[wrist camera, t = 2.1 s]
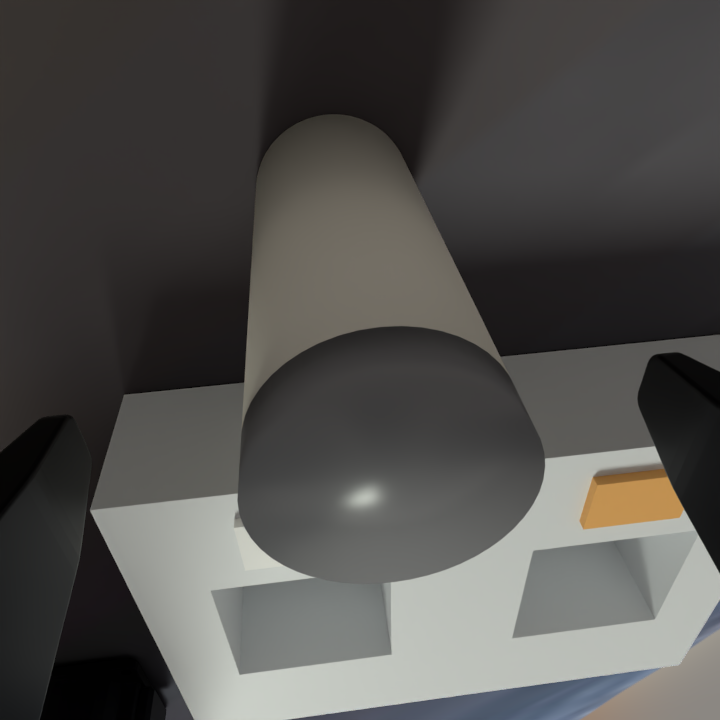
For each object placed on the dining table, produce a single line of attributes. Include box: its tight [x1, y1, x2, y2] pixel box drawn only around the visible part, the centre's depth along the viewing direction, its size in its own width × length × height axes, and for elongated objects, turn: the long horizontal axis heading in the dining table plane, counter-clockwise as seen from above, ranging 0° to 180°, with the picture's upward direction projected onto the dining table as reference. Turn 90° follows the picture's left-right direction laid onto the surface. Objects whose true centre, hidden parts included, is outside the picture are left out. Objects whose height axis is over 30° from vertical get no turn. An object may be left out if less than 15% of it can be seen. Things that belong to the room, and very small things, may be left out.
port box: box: [90, 335, 720, 720], centre depth 22 cm, size 20×14×5 cm
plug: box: [237, 114, 545, 584], centre depth 12 cm, size 4×4×10 cm
